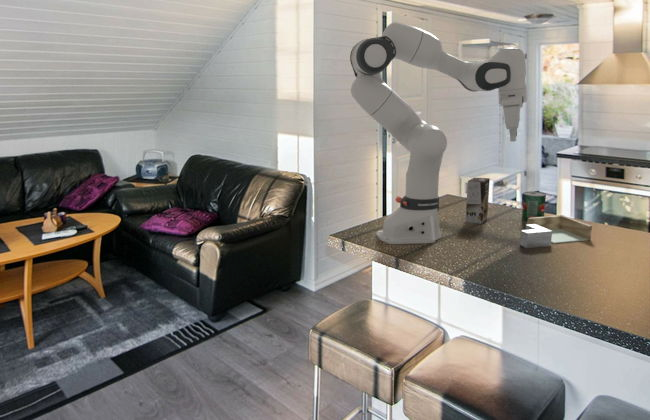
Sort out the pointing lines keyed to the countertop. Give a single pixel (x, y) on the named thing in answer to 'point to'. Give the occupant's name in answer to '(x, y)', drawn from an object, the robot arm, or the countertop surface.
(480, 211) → the coffee box
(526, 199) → the canned tomato
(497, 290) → the countertop surface
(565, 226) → the walls
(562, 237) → the mat
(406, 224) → the robot arm
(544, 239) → the bracket
